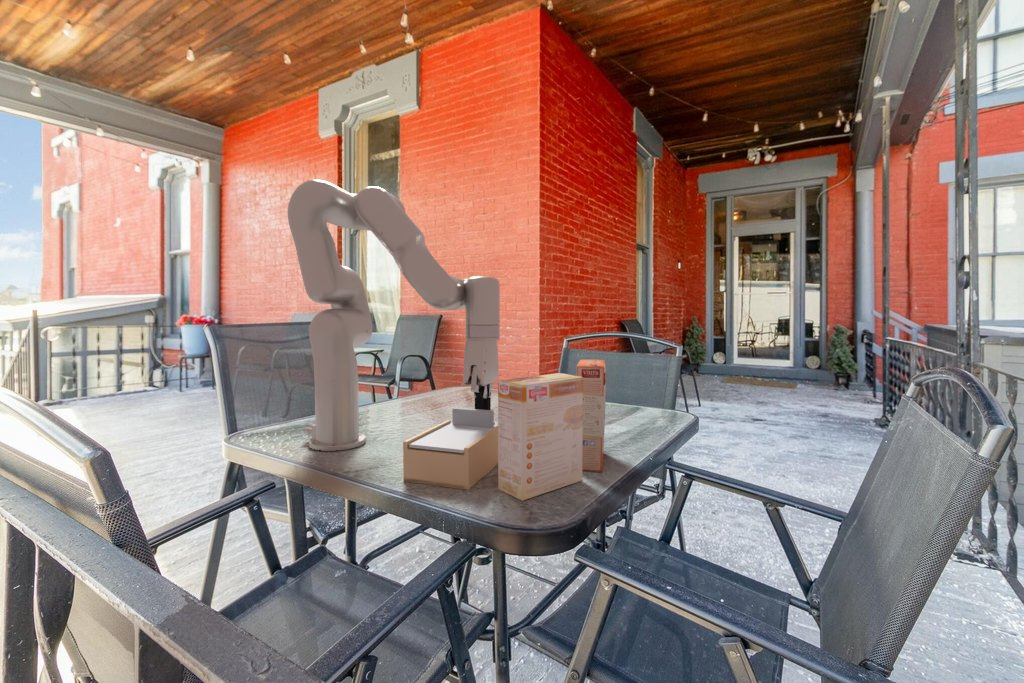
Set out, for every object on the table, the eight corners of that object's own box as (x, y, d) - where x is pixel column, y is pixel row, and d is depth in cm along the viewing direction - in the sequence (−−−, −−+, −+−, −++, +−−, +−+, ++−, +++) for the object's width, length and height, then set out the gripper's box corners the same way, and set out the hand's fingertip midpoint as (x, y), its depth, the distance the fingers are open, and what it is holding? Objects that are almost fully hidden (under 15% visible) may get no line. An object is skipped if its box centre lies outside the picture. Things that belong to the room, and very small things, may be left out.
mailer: (403, 481, 86) (403, 441, 86) (447, 453, 103) (447, 420, 103) (468, 489, 82) (468, 448, 81) (503, 459, 99) (503, 424, 98)
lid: (409, 447, 86) (409, 425, 85) (451, 425, 102) (451, 407, 102) (463, 453, 82) (463, 430, 82) (497, 429, 99) (497, 410, 98)
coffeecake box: (556, 471, 92) (557, 372, 91) (584, 481, 86) (585, 376, 85) (496, 489, 82) (496, 379, 81) (522, 502, 77) (523, 384, 76)
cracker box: (604, 473, 91) (606, 365, 89) (573, 471, 92) (574, 365, 91) (604, 452, 104) (606, 358, 103) (577, 450, 106) (578, 358, 104)
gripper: (479, 331, 112) (479, 407, 113) (452, 334, 98) (452, 421, 99) (509, 332, 109) (509, 409, 111) (486, 334, 95) (485, 424, 96)
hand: (482, 414), depth 105 cm, fingers closed
